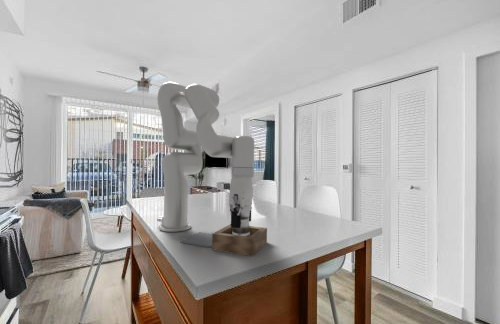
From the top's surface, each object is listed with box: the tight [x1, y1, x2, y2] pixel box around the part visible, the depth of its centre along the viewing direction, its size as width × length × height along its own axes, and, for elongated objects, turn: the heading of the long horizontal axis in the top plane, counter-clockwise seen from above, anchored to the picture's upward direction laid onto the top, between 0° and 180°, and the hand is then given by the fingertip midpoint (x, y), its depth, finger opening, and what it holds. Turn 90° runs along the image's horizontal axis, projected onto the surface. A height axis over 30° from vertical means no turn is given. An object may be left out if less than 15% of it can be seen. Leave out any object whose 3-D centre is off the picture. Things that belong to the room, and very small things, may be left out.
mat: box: [180, 231, 213, 249], centre depth 86 cm, size 12×12×1 cm
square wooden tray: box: [211, 223, 268, 257], centre depth 81 cm, size 14×14×5 cm
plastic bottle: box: [232, 197, 252, 237], centre depth 81 cm, size 6×7×20 cm
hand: (241, 224), depth 81 cm, fingers open, 8 cm apart
